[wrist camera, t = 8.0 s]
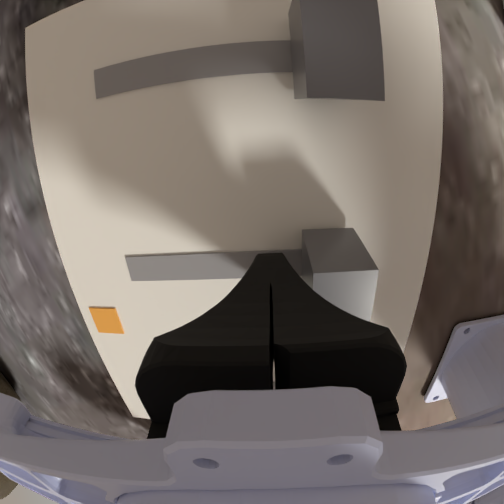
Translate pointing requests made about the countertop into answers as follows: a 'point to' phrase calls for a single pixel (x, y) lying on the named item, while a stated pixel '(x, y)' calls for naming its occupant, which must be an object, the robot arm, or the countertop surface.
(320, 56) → the block
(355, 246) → the block
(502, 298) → the countertop surface
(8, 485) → the cantaloupe
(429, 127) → the breaker panel
